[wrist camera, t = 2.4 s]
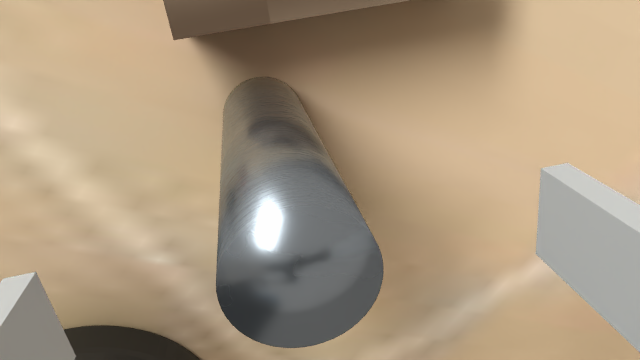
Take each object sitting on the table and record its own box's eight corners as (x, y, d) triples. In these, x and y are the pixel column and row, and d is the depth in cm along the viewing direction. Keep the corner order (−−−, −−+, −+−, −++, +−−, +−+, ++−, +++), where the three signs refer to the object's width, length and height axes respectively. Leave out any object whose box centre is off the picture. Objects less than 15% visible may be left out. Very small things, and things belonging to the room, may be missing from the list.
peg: (308, 145, 27) (389, 327, 13) (232, 160, 26) (236, 363, 13) (295, 70, 25) (375, 190, 11) (215, 84, 24) (197, 227, 11)
